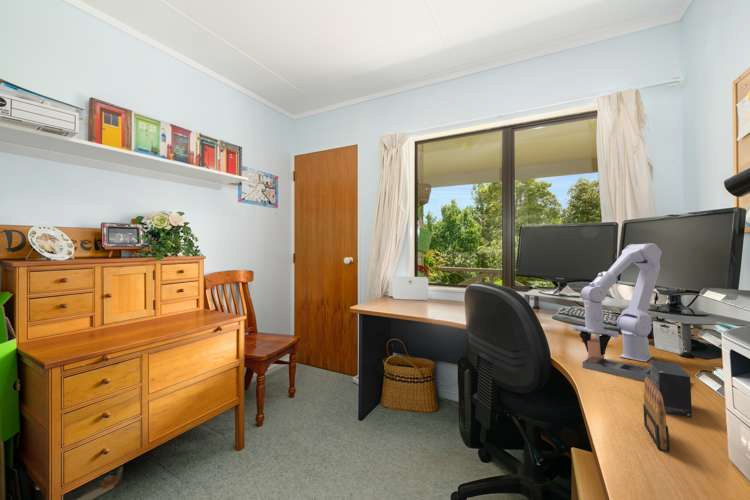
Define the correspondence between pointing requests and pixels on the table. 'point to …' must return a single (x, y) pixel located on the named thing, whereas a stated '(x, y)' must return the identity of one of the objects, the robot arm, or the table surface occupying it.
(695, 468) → the table surface
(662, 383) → the small box
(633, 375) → the grey slotted board
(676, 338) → the ink box
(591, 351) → the peg
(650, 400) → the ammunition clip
